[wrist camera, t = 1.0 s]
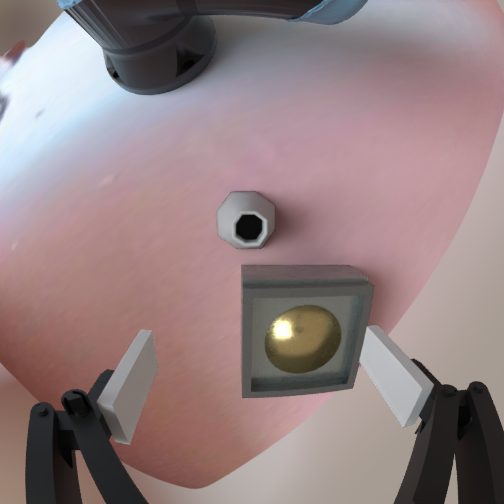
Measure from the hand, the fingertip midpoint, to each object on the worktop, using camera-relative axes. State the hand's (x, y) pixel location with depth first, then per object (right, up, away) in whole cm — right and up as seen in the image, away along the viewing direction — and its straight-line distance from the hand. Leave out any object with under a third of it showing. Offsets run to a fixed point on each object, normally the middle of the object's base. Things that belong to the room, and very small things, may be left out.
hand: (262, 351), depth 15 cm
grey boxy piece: (+5, -3, +20) cm, 21 cm away
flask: (-1, +10, +17) cm, 20 cm away
